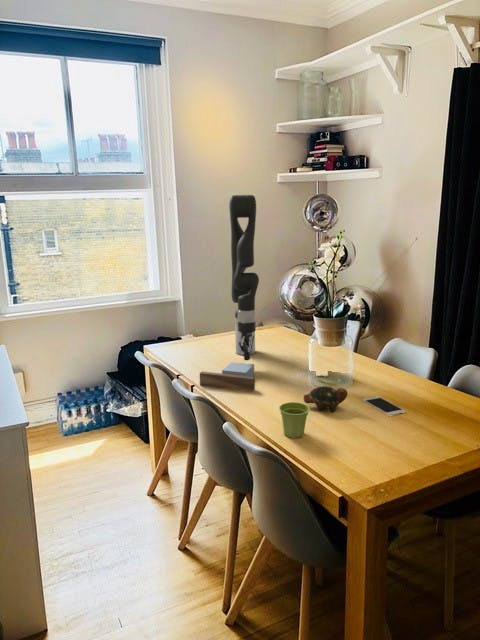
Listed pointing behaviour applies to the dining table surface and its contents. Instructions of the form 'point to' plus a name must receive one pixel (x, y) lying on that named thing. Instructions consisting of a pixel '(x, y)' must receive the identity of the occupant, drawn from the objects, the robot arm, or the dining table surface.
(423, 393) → the dining table surface
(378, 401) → the smartphone
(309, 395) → the decorative turtle
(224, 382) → the board
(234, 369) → the block
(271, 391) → the dining table surface
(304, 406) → the plant pot
